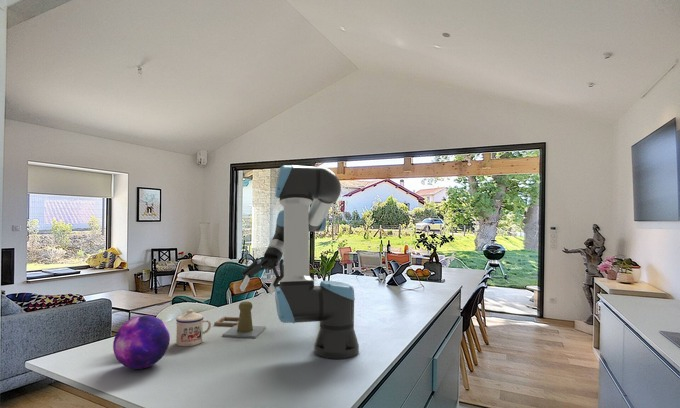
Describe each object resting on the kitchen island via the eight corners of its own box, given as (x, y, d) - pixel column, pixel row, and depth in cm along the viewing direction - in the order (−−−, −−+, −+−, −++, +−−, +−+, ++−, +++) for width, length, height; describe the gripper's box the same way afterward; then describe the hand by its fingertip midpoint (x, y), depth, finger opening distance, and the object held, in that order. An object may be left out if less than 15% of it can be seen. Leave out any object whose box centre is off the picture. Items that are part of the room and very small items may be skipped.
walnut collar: (236, 326, 157) (236, 323, 157) (214, 325, 158) (214, 322, 158) (244, 320, 167) (244, 317, 167) (223, 319, 168) (223, 316, 168)
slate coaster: (255, 338, 142) (255, 336, 142) (222, 336, 144) (222, 334, 144) (266, 328, 155) (266, 326, 155) (235, 326, 157) (235, 324, 157)
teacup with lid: (178, 348, 130) (179, 314, 130) (172, 341, 137) (173, 308, 138) (214, 342, 137) (215, 309, 137) (206, 336, 144) (207, 304, 145)
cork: (246, 327, 154) (247, 299, 154) (256, 330, 150) (256, 301, 150) (233, 330, 149) (234, 302, 150) (243, 333, 145) (244, 304, 146)
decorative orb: (106, 366, 114) (108, 315, 114) (158, 354, 124) (160, 307, 125) (120, 382, 103) (122, 326, 104) (176, 367, 114) (178, 316, 114)
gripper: (302, 258, 170) (285, 299, 155) (254, 255, 178) (233, 294, 164) (297, 247, 165) (278, 288, 150) (248, 245, 174) (226, 283, 159)
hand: (255, 291), depth 157 cm, fingers open, 13 cm apart
